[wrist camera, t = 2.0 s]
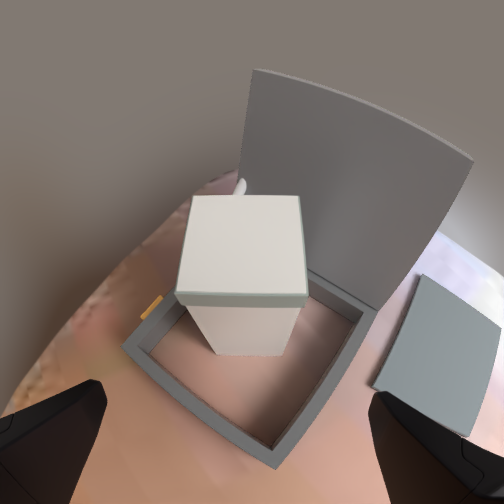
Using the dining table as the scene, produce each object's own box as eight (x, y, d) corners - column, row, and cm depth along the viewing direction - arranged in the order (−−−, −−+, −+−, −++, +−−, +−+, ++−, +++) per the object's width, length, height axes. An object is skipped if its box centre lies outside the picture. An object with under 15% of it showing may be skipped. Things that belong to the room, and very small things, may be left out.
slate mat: (465, 437, 15) (468, 437, 14) (370, 387, 19) (373, 386, 18) (498, 329, 20) (501, 328, 20) (420, 276, 24) (422, 273, 24)
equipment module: (283, 357, 21) (309, 295, 11) (215, 356, 21) (173, 292, 11) (281, 296, 23) (299, 194, 13) (219, 295, 24) (191, 194, 13)
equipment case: (273, 463, 16) (307, 557, 3) (128, 349, 21) (-2, 249, 8) (386, 282, 24) (473, 152, 11) (257, 208, 29) (256, 63, 16)
